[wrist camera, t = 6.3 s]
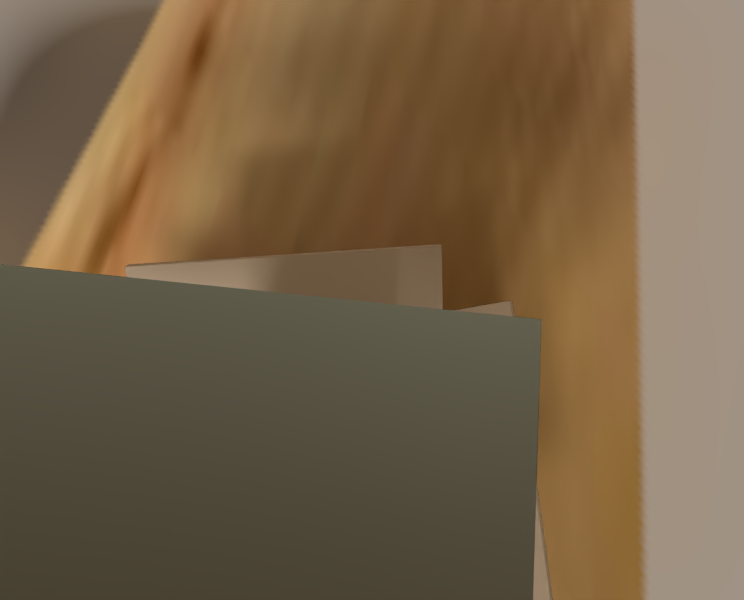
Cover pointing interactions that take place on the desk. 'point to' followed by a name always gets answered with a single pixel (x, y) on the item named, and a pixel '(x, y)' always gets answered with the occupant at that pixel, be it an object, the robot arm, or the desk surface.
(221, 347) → the box
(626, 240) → the desk surface
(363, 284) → the carton
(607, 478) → the desk surface
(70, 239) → the desk surface
